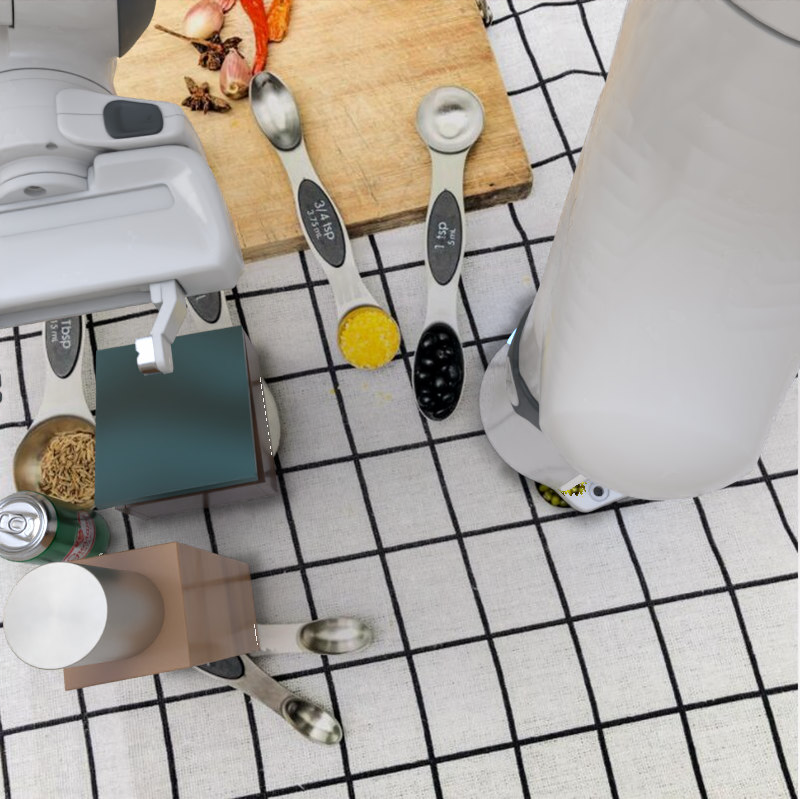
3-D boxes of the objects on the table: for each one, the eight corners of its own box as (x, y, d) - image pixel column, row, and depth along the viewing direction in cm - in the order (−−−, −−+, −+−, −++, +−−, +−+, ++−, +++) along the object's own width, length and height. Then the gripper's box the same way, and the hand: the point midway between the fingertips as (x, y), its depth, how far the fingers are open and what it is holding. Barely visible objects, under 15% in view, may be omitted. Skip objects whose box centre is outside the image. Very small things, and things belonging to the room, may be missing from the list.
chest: (279, 494, 70) (265, 482, 64) (142, 519, 70) (115, 510, 63) (258, 354, 73) (243, 329, 67) (128, 378, 73) (100, 354, 66)
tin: (159, 563, 47) (102, 552, 39) (168, 650, 46) (112, 659, 37) (75, 579, 47) (-1, 571, 38) (82, 666, 46) (5, 679, 37)
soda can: (102, 575, 69) (39, 568, 57) (43, 563, 69) (-31, 553, 57) (119, 515, 70) (61, 496, 58) (62, 503, 70) (-7, 481, 59)
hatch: (258, 480, 60) (255, 476, 59) (98, 509, 60) (94, 505, 59) (243, 330, 67) (241, 324, 66) (99, 355, 66) (96, 350, 66)
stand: (248, 563, 69) (176, 541, 48) (260, 650, 67) (190, 667, 46) (165, 579, 69) (54, 563, 47) (174, 666, 67) (64, 691, 46)
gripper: (-168, 162, 45) (-165, 408, 41) (209, 99, 45) (243, 336, 42) (-99, 217, 51) (-91, 434, 47) (233, 160, 52) (264, 371, 48)
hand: (69, 387), depth 45 cm, fingers open, 8 cm apart
